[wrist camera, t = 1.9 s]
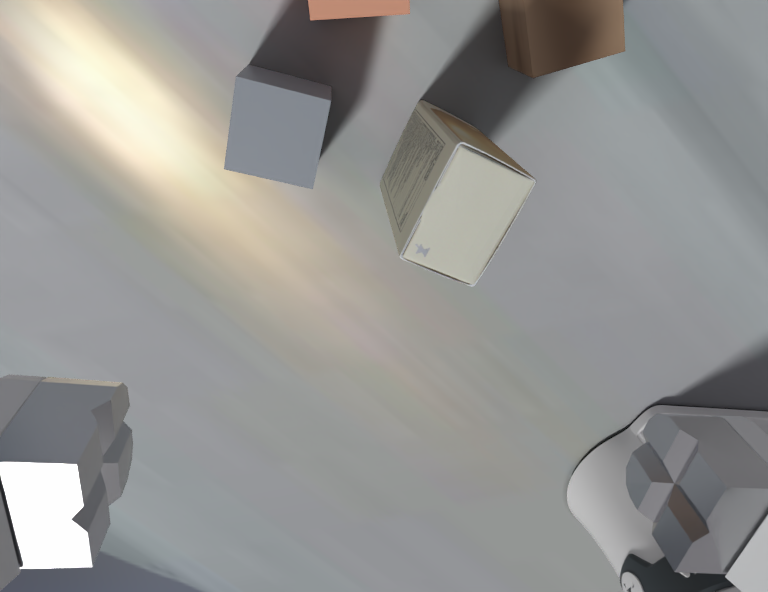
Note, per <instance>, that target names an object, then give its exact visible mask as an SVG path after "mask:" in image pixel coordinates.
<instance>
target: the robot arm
mask: <svg viewBox="0 0 768 592" xmlns="http://www.w3.org/2000/svg"><path fill="white" fill-rule="evenodd" d="M129 406H130V403H129V396H128V388H127V386H126V385H125V384H124V383H120V382H107V381H94V380H81V379H69V378H56V377H48V378H45V377H37V376H23V375H7V376H4V377H2V378H0V590H2V589H3V588H4V587H5V586H6V585H7V584H8V583H9V582H11V581H12V580H13V579H14V578H15V577H16V576H17V575H18V574H19V573H20V569H26V568H76V567H93V565H94V563H95V560H96V558H97V555H98V553H99V550H100V548H101V545H102V543H103V540H104V538H105V535H106V533H107V530H108V528H109V526H110V516H109V507H108V506H109V505H110V504H112V503H113V502H114V501H116V500H117V499H118V498H120V497H121V495H122V493H123V490H124V487H125V485H126V482H127V479H128V475H129V470H130V466H131V461H132V449H133V439H132V430H131V429H130V428H129V427H128V426H127V425H126V423H125V422H124V421H123V420H124V418H125V415H126V413H127V411H128V409H129ZM567 502H568V506H569V508H570V510H571V512H572V514H573V515H574V516H575V517H576V518H577V519H578V520H579V521H580V522H581V524H582V525H583V526H584V527H585V528H586V529H587V531H588V532H589V533H590V534H591V536H592V537H593V538H594V540H595V541H596V542H597V544H598V545H599V547H600V548H601V549H602V551H603V552H604V554H605V555H606V557H607V559H608V560H609V562H610V563H611V565H612V566H613V568H614V570H615V571H616V573H617V575H618V576H619V578H620V583H621V587H622V589H623V591H624V592H768V412H767V411H750V410H734V409H717V408H701V407H685V406H668V405H657V406H654V407H651V408H649V409H648V410H646V411H645V412H644V413H643V414H642V415H641V416H640V417H639V418H638V419H637V420H636V421H635V422H634V423H633V424H632V425H631V426H630V427H629V428H628V429H626V430H625V431H623V432H622V433H620V434H618V435H616V436H615V437H613V438H611V439H609V440H608V441H606V442H604V443H603V444H601V445H600V446H598V447H597V448H596V449H594V450H593V451H592V452H591V453H590V454H589V455H588V456H587V457H586V458H585V459H584V460H583V461H582V462H581V463H580V464H579V466H578V467H577V468H576V470H575V472H574V473H573V475H572V477H571V479H570V482H569V485H568V489H567Z"/></svg>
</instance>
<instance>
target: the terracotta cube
mask: <svg viewBox="0 0 768 592" xmlns="http://www.w3.org/2000/svg"><path fill="white" fill-rule="evenodd" d="M308 4H309V14H310V20H325V19H341V18H356V17H371V16H387V15H402V14H410V1H409V0H308Z"/></svg>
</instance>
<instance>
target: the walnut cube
mask: <svg viewBox="0 0 768 592" xmlns="http://www.w3.org/2000/svg"><path fill="white" fill-rule="evenodd" d="M499 6H500V13H501V20H502V27H503V34H504V41H505V48H506V55H507V62H508V67H510V68H512V69H515V70H517V71H519V72H521V73H523V74H525V75H527V76H530V77H532V78H535V77H539V76H542V75H546V74H549V73H552V72H556V71H559V70H563V69H566V68H569V67H573V66H576V65H580V64H583V63H586V62H590V61H593V60H597V59H600V58H603V57H607V56H610V55H614V54H617V53H620V52H624V51H625V37H624V15H623V0H499Z"/></svg>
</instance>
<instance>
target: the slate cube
mask: <svg viewBox="0 0 768 592" xmlns="http://www.w3.org/2000/svg"><path fill="white" fill-rule="evenodd" d="M330 104H331V86H328V85H325V84H321V83H317V82H313V81H310V80H306V79H302V78H298V77H294V76H291V75H287V74H283V73H279V72H275V71H272V70H268V69H264V68H260V67H256V66H253V65H248V66H247V67H245V68H244V69H243V70H242V71H241V72H240V73H239V74H238V75H237V76H236V81H235V89H234V96H233V104H232V112H231V120H230V127H229V135H228V143H227V150H226V158H225V166H224V169H226V170H230V171H235V172H239V173H244V174H248V175H253V176H257V177H261V178H266V179H270V180H275V181H279V182H284V183H288V184H292V185H297V186H301V187H306V188H310V189H313V186H314V181H315V176H316V171H317V166H318V162H319V157H320V152H321V147H322V143H323V138H324V133H325V128H326V124H327V119H328V114H329V109H330Z"/></svg>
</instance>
